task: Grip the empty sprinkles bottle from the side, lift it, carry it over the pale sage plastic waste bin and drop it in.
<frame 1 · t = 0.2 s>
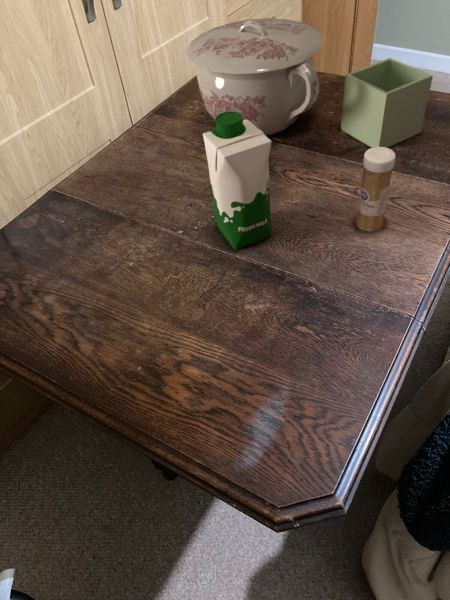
bin: (379, 132, 103), on the table
chamber pot: (257, 122, 111), on the table
milk carton: (244, 233, 85), on the table
sprinkles bottle: (369, 225, 83), on the table
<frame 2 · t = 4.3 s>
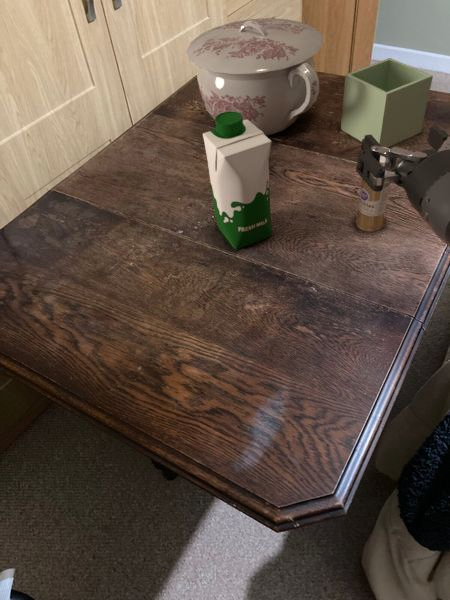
hand: (398, 137, 63), 20 cm above the table, tool horizontal, fingers open, 8 cm apart
nothing on the table moved.
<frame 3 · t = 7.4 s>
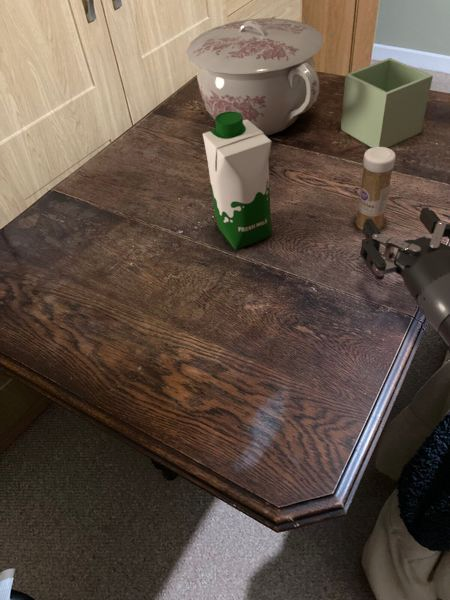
hand: (395, 217, 73), 7 cm above the table, tool horizontal, fingers open, 8 cm apart
nothing on the table moved.
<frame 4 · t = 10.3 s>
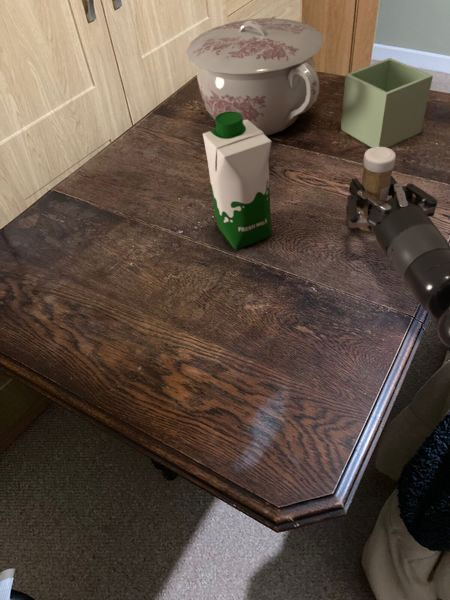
hand: (368, 180, 80), 7 cm above the table, tool horizontal, fingers closed on sprinkles bottle, 4 cm apart
sprinkles bottle: (369, 225, 83), on the table, touching gripper
everything else where it was.
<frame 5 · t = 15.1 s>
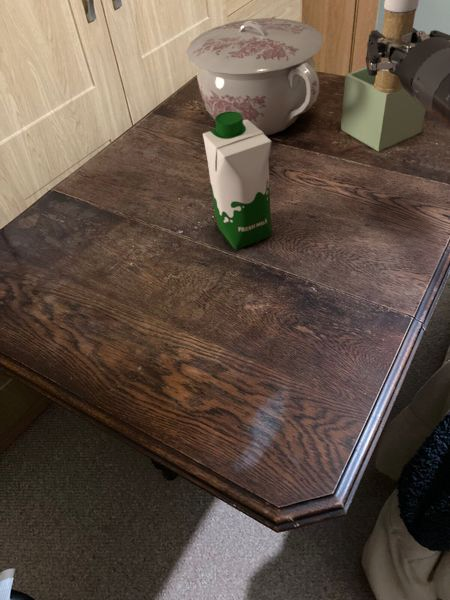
hand: (388, 34, 75), 25 cm above the table, tool horizontal, fingers closed on sprinkles bottle, 4 cm apart
sprinkles bottle: (388, 89, 78), point 17 cm above the table, touching gripper
everything else where it was.
when the fingers open (17 cm above the table, at t = 20.2 s): sprinkles bottle drops 9 cm, resting on bin.
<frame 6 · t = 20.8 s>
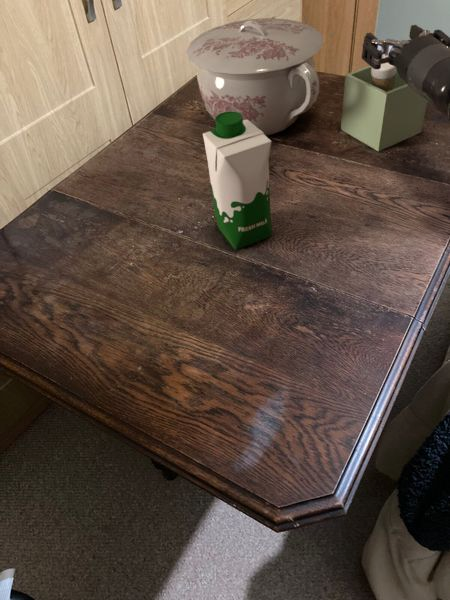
hand: (389, 34, 91), 18 cm above the table, tool horizontal, fingers open, 8 cm apart
sprinkles bottle: (380, 128, 102), point 1 cm above the table, touching bin
everything else where it was.
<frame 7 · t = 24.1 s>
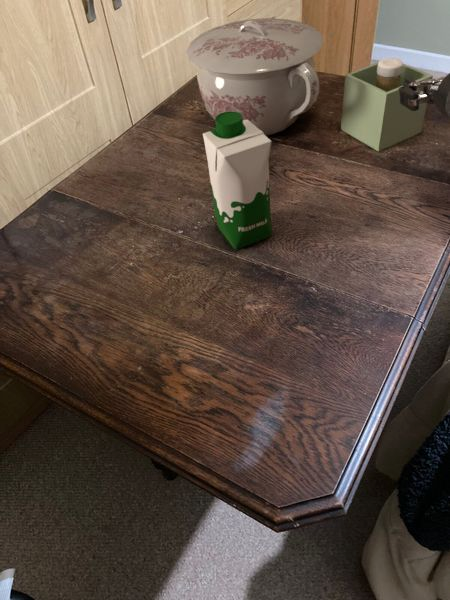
hand: (432, 76, 84), 15 cm above the table, tool horizontal, fingers open, 8 cm apart
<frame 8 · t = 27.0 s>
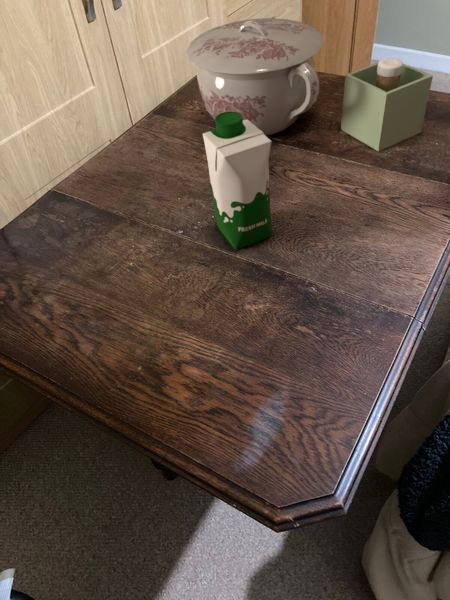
nothing on the table moved.
at the end: sprinkles bottle inside the target area in the bin (0.1 cm from its centre), point 0.6 cm above the bin's base; the gripper is holding nothing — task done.
